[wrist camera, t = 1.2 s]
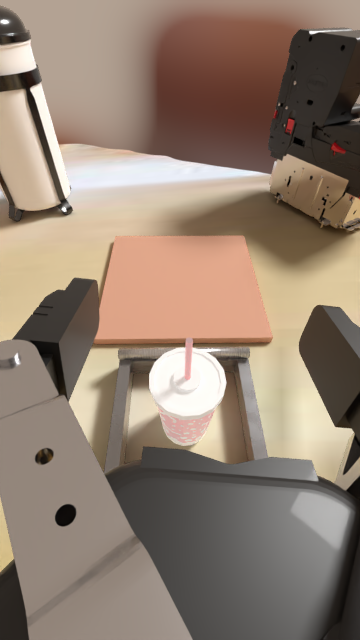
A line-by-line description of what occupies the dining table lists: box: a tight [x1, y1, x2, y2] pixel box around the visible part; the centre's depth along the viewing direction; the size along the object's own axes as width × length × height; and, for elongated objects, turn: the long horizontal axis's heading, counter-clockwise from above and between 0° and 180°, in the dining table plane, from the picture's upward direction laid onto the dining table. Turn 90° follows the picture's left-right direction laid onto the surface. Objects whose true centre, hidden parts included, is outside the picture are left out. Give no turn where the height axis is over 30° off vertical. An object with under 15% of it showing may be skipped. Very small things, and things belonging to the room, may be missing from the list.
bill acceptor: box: [269, 28, 360, 231], centre depth 49 cm, size 10×23×25 cm, turn 33°
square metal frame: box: [104, 347, 268, 474], centre depth 28 cm, size 14×14×4 cm
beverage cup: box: [149, 337, 226, 446], centre depth 24 cm, size 6×6×14 cm
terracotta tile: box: [94, 236, 273, 344], centre depth 43 cm, size 22×22×1 cm
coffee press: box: [0, 6, 73, 221], centre depth 48 cm, size 17×16×30 cm
